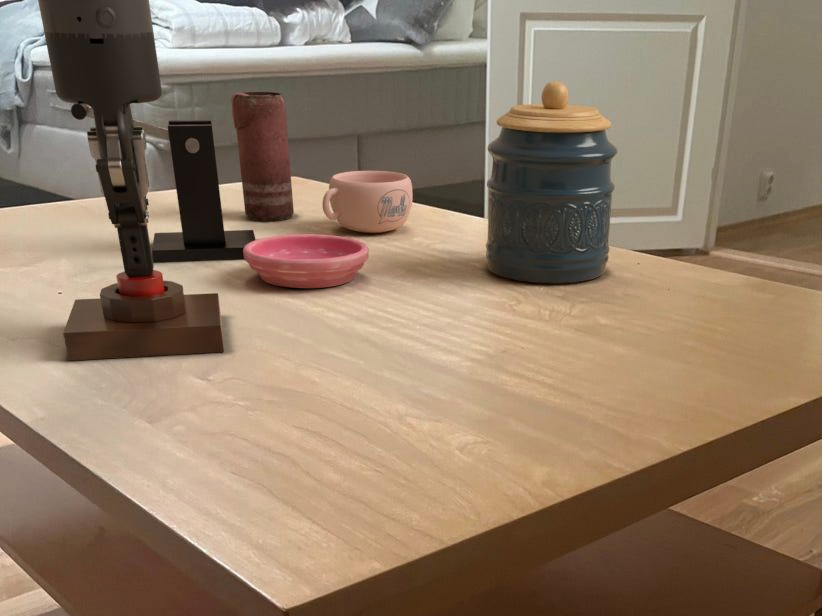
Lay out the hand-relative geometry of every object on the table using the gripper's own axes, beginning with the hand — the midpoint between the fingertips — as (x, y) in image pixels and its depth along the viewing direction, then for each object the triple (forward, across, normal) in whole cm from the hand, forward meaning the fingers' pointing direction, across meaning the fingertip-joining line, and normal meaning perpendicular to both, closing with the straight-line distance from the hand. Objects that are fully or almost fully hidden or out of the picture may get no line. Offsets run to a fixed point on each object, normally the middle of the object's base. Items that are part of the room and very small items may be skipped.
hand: (140, 274), depth 82 cm
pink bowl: (+5, -18, +15) cm, 24 cm away
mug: (+5, -40, +24) cm, 47 cm away
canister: (+6, -17, +40) cm, 44 cm away
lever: (-6, -32, 0) cm, 33 cm away
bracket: (+5, -32, +5) cm, 33 cm away
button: (+2, 0, 0) cm, 2 cm away
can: (+5, -50, +13) cm, 52 cm away
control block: (+5, 0, 0) cm, 5 cm away
